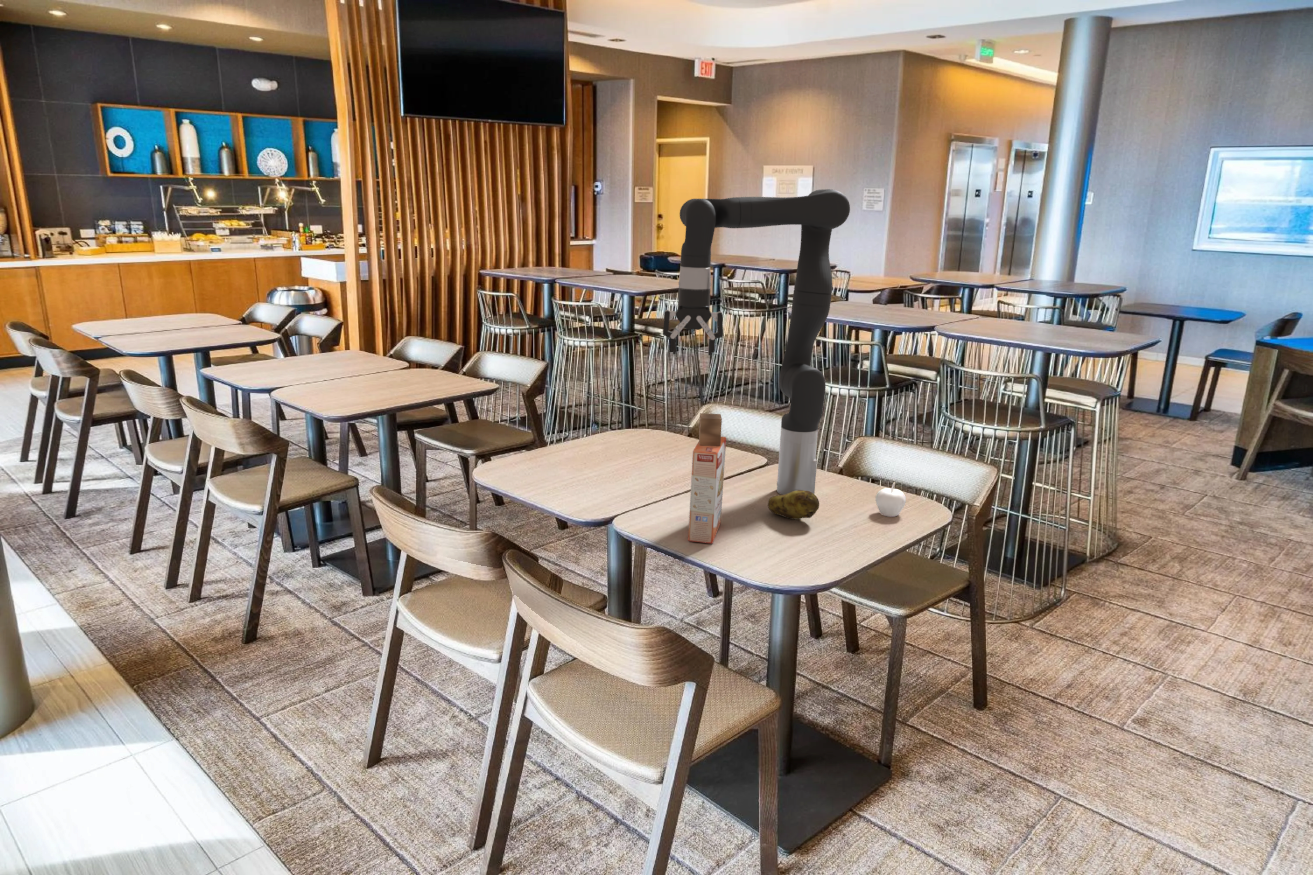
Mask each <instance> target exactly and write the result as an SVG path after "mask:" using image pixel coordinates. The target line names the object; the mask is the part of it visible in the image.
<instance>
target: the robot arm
mask: <svg viewBox="0 0 1313 875" xmlns="http://www.w3.org/2000/svg"><path fill="white" fill-rule="evenodd" d="M850 213H851V204H850V202H849V199H848V197H847V196H846V194H844V193H843V192H841V191H839V190H837V189H832V188H831V189H830V188H829V189H828V188H827V189H826V188H825V189H817V190H813V191H812V192H810V193H809V194H808V195H803V196H791V197H790V196H788V197H780V196H779V197H778V196H777V197H775V196H738V197H737V196H735V197H727V198H691V199H688V200H687V201H685V202H684V203H683V204H682V206H681V207H680V209H679V219H680V222H681V223H682V225H683V226H684V227H685V234H684V236H685V237H684V241H683V243H682V246H681V249H680V251H681V252H680V269H679V274H678V276H679V277H678V299H677V309H676V310H675V311H674V310H670V309H666V310H664V317H663V318H664V319H663V329H662V335H663V336H665V337H667V338H669V339H670V341H669V342H670V343H669V346H670V348H669V350H670V352H671V353H672V355H676V354H677V336H678V335H679V334H680V332H681V331H682V330H683V329H685V330H695V331H700V330H702V329H703V331H704V332H705V333H706V335H708V337H709V339H708V351H707V352H708V353H707V355H708V356H712V354H714V353H715V349H716V348H715V347H716V346H715V345H716V340H717V339H719V338H723V336H724V322H723V321H724V319H723V318H724V316H723V311H717V312H714V311H713V312H711V309H710V308H711V287H712V274H711V266H712V265H711V262H712V260H711V258H712V243H713V239H714V235H715V234H714V233H715V229H716V228H726V229H750V228H751V229H753V228H766V227H776V226H786V225H787V226H790V225H794V226H796V225H797V226H801V228H800V248H799V249H800V250H799V254H798V259H797V260H798V261H797V268H796V275H795V280H794V281H795V282H794V286H793V287H794V288H793V294H792V301H791V314H790V318H789V320H790V321H789V327H788V334H787V341H786V347H785V351H784V355H783V360H782V362H781V368H780V372H779V377H778V378H779V379H778V381H779V382H778V384H779V389H780V391H781V392H782V393H783V395H785V396H786V397H788V398H789V399H790V405H789V406H790V407H789V411H788V413H784V414H783V415H782V417H781V422H780V437H779V452H778V465H777V466H778V467H777V481H776V492H777V493H778V495H785V494H788V493H790V492H792V491H797V490H804V491H810V492H812V493H813V494H815V491H816V478H817V466H818V460H817V458H816V457H817V447H818V445H817V443H818V431H819V424H820V422H821V419H822V417H823V413H824V405H825V396H826V389H827V388H826V379H825V378H826V377H825V375H824V374H823V372H822V371H820V370H819V369H818V368H817V367H813V366H812V355H813V349H814V345H815V342H816V339H817V337H818V335H820V332H821V331H822V328H823V326H825V323H826V321H827V319H828V318H829V317H828V316H829V313H830V309H831V304H832V294H833V276H832V274H833V273H832V268H831V263H830V242H831V236H832V232H833V230H834V229H836V228H838V227H840V226H842V225H843V224H844V223H845V222H846V221H847V220H848V217H849V215H850ZM674 317H676V319H677V320H678V322H679V323H678V324H677V325H676V326H675V327H674V329H673V330H672V331H671V330H669V328H670V327H669V326H670V321H671V320H673V318H674ZM711 318H713V320H714V322H716V324H717V325H716V328H717V329H716V330H717V331H716V332H713V330H712V329H711V328H710V326H709V324H708V322H709V321H710V320H711Z"/></svg>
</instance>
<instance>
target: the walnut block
mask: <svg viewBox="0 0 1313 875" xmlns="http://www.w3.org/2000/svg"><path fill="white" fill-rule="evenodd" d="M722 423H723V418H722V414H721V413H699V429H698V430H699V431H698V442H699V445H705V446H720V445H721V437H722Z"/></svg>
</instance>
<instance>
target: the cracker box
mask: <svg viewBox="0 0 1313 875" xmlns="http://www.w3.org/2000/svg"><path fill="white" fill-rule="evenodd" d="M726 446H727V437H726V436H721V445H720V446H705V445H699V441H698V442H697V444H696V445H695V447H694V448H693V450H692V460H691V461H692V462H691V479H690V480H691V481H690V483H691V484H690V499H689V512H688V513H689V516H688V532H687V539H688V540H687V541H688V542H693V543H701V544H703V543H704V544H709V545H710V544H711V545H713V544H714V541H715V538H716V536H717V532H718V530H719V528H720V526H721V521H722V510H723V509H722V507H723V493H724V491H723V490H724V478H725V465H726V464H725V461H726V450H727V448H726Z"/></svg>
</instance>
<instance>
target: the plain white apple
mask: <svg viewBox="0 0 1313 875" xmlns="http://www.w3.org/2000/svg"><path fill="white" fill-rule="evenodd" d="M895 485H896V481H895V482H893V483H892V485H891V488H890V487H889V488H888V487H885V488H882V489H880V490H879V491H878V492H877V493H876V495H875V503H876V505H877V510H878V511H879V513H880V514H881V515H882V516H884V517H887V518H888V517H889V518H890V517H891V518H895V517H897V516H899V515H900V514H901V512H902V510H903V509H904V508H905V506H906V502H907V497H906V495H905V493H904V492H903V491H902V490H900V489H898V488H895Z"/></svg>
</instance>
